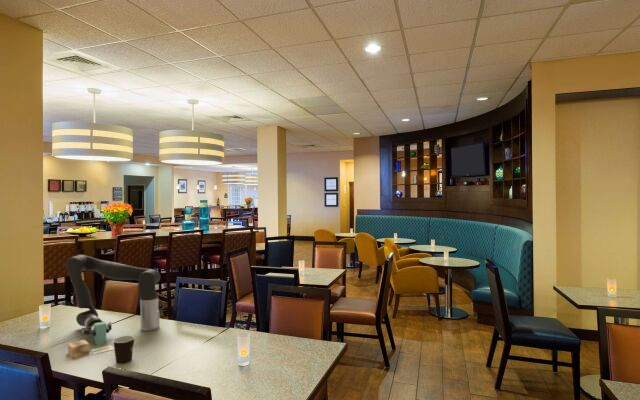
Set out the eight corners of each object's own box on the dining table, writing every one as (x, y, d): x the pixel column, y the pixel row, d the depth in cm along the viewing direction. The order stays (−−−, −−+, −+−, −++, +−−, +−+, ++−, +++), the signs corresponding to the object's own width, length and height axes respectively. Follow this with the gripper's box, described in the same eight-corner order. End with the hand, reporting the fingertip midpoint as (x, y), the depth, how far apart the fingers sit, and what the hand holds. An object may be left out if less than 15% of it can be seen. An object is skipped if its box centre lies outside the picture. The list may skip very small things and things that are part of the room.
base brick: (84, 349, 187) (84, 339, 187) (88, 353, 182) (88, 343, 182) (68, 353, 182) (68, 343, 182) (72, 358, 177) (71, 347, 177)
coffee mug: (125, 365, 168) (125, 343, 168) (108, 364, 170) (108, 342, 170) (142, 355, 180) (142, 334, 180) (126, 353, 182) (126, 332, 181)
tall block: (104, 340, 198) (104, 321, 198) (106, 342, 195) (106, 323, 195) (94, 342, 195) (94, 323, 195) (96, 345, 192) (96, 325, 192)
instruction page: (110, 345, 192) (110, 344, 192) (114, 349, 187) (114, 348, 187) (90, 350, 186) (90, 349, 186) (93, 354, 180) (93, 354, 180)
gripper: (78, 320, 201) (85, 328, 188) (108, 314, 211) (116, 322, 198) (78, 334, 201) (85, 343, 188) (108, 327, 211) (117, 336, 198)
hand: (101, 332), depth 193 cm, fingers open, 5 cm apart
